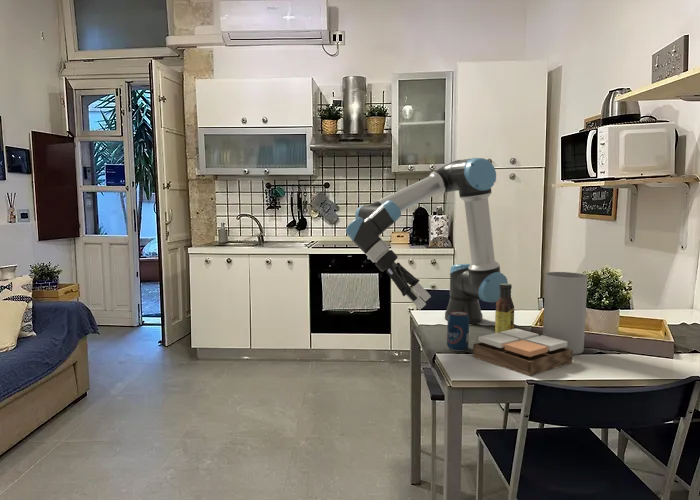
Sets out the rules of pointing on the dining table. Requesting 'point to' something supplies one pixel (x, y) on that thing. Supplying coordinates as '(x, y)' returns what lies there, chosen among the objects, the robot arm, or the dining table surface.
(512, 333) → the key
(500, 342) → the key
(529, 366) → the keypad
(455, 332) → the soda can
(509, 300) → the sauce bottle
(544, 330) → the cylinder vase
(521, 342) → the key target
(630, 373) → the dining table surface
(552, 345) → the key
